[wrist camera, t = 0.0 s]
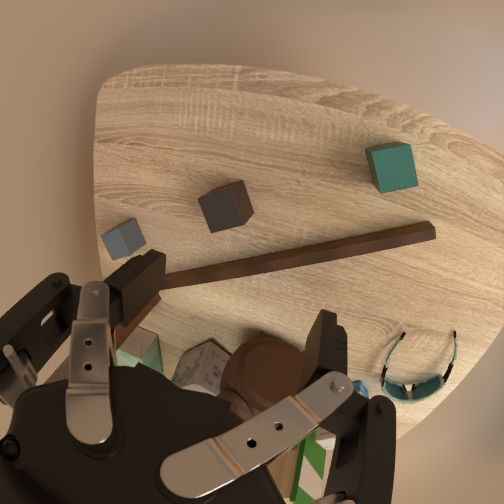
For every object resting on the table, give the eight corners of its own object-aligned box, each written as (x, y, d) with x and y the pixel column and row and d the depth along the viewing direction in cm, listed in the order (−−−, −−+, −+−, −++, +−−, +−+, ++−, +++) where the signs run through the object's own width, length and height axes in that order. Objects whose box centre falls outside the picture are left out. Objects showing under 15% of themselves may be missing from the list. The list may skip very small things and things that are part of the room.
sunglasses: (373, 387, 44) (374, 406, 39) (391, 324, 39) (396, 342, 35) (435, 384, 40) (441, 401, 36) (460, 323, 36) (470, 339, 31)
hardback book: (276, 392, 50) (250, 497, 29) (312, 388, 48) (295, 500, 27) (298, 429, 56) (282, 514, 35) (328, 427, 53) (317, 515, 32)
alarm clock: (233, 343, 47) (190, 438, 29) (247, 317, 43) (201, 422, 26) (305, 374, 46) (286, 471, 29) (326, 352, 42) (312, 460, 25)
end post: (142, 301, 48) (56, 399, 26) (135, 287, 47) (42, 384, 25) (161, 298, 47) (71, 407, 24) (153, 284, 46) (56, 391, 23)
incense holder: (211, 375, 53) (193, 413, 44) (183, 351, 52) (160, 388, 43) (243, 363, 49) (226, 407, 40) (212, 335, 47) (189, 378, 38)
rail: (138, 287, 47) (131, 294, 45) (134, 280, 46) (127, 287, 44) (429, 231, 30) (436, 239, 28) (429, 220, 29) (435, 227, 27)
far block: (117, 225, 42) (100, 235, 38) (135, 218, 40) (117, 228, 37) (128, 248, 44) (112, 260, 40) (146, 243, 42) (130, 255, 38)
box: (138, 360, 59) (122, 381, 53) (129, 322, 53) (110, 344, 46) (163, 372, 58) (149, 394, 52) (158, 334, 52) (140, 359, 45)
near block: (364, 148, 28) (370, 151, 24) (399, 141, 26) (410, 144, 22) (373, 184, 30) (380, 193, 26) (407, 178, 28) (418, 186, 24)
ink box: (360, 379, 44) (360, 432, 33) (368, 391, 45) (368, 442, 35) (320, 391, 47) (313, 441, 37) (330, 402, 49) (324, 450, 38)
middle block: (211, 190, 35) (197, 199, 31) (242, 180, 34) (231, 188, 30) (223, 221, 37) (210, 233, 33) (254, 212, 35) (244, 224, 31)
